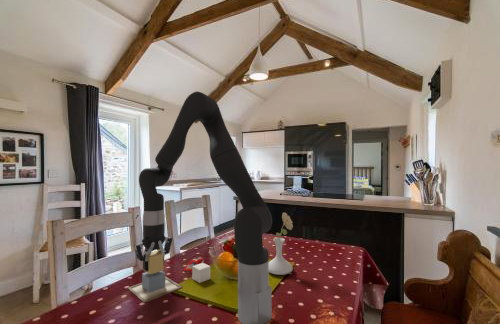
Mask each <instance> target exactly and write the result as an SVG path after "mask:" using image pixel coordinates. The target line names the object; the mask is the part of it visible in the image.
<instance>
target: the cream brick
mask: <svg viewBox="0 0 500 324" xmlns="http://www.w3.org/2000/svg"><path fill="white" fill-rule="evenodd" d="M191 277H192V280H193V281H195V282H197V283H199V284H200V283H203V282H206V281H208V280H210V279H211V266H210V265H208V264H207V263H205V262H204V263H201V264H198V265H195V266H192V273H191Z"/></svg>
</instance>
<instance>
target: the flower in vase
mask: <svg viewBox="0 0 500 324" xmlns="http://www.w3.org/2000/svg"><path fill="white" fill-rule="evenodd" d="M281 219H282V222H283V224H282V227H281V230H280V233H279V232H276V233H275V236H278V237H275V238H273V239H272V240H273V242H274V243H275V248H276V254H275V257H273V259H272V260H270V261H269V273H270V274H273V275H276V276H284V275H288V274H291V273H292V272H293V269H294V268H293V265H292V264H291V263H290V262H289V261H287V260H286V258H284V257H283V253H282V252H283V244H284V242H285V240H286V239H285V238H283V237H281V236H282V234H283V235H284V236H286V235H288V231H287V230H286V229H288V230H289V231H292V230H293V228H294V226H293V223H294V222H293V220H292V219H291V217H290V215H288V213H286V212H282V215H281ZM284 226H285V227H286V229H285V228H284Z"/></svg>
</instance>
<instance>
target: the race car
mask: <svg viewBox="0 0 500 324" xmlns="http://www.w3.org/2000/svg"><path fill="white" fill-rule="evenodd" d="M201 263H204V264H205V259H204V257H203V258H202V257H194V258H193V259H191V260H190V261H189V262H188V263H186V266H184V269H183V272H184V273H186V274H192V266H195V265H198V264H201Z"/></svg>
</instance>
